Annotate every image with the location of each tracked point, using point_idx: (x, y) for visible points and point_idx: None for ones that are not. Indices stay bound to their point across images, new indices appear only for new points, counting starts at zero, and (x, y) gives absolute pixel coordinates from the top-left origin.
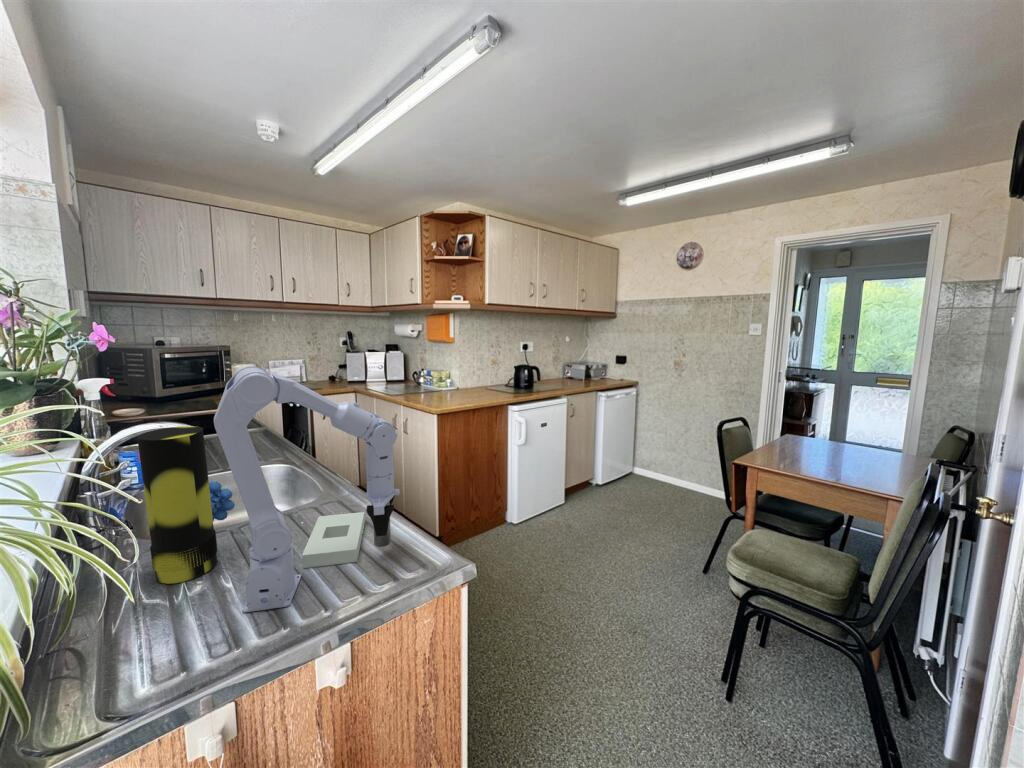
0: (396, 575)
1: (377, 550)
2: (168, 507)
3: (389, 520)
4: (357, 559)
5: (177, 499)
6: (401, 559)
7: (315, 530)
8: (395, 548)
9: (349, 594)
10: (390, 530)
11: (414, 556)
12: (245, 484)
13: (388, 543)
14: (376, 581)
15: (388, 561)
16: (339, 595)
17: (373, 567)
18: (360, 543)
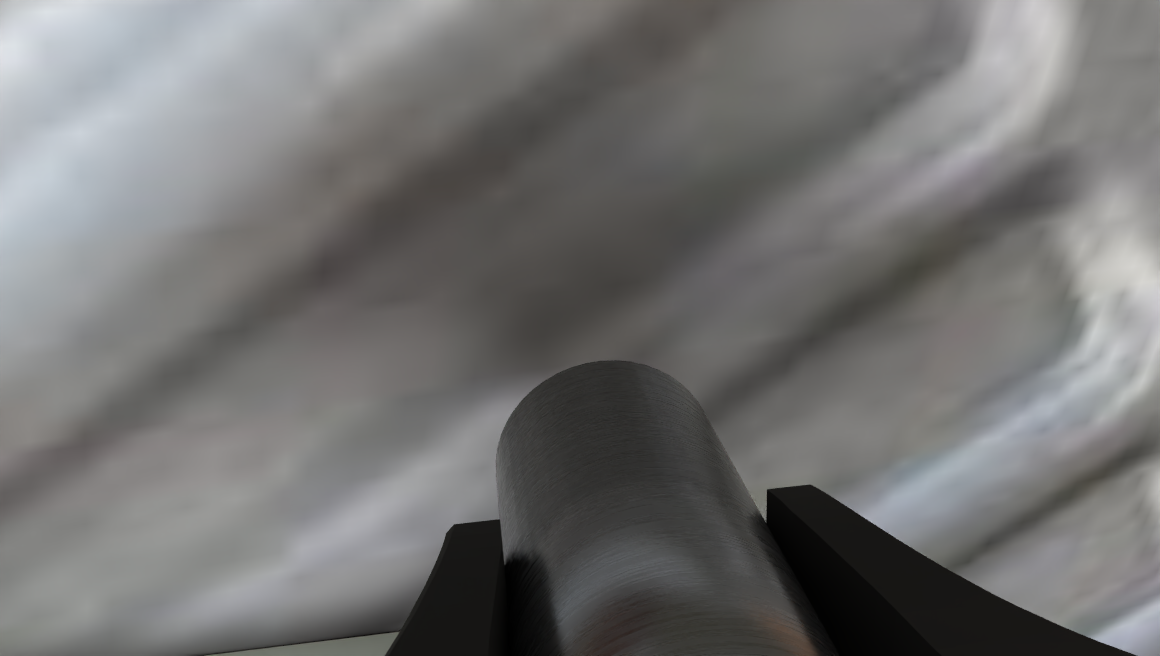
0: (978, 191)
1: (447, 455)
2: None
3: (741, 569)
4: None
5: None
6: (685, 165)
7: None
8: (426, 262)
9: (1112, 550)
10: (632, 442)
11: (651, 3)
12: None
13: (677, 387)
14: (1012, 371)
15: (695, 307)
16: (1096, 616)
17: (772, 438)
18: (302, 652)
